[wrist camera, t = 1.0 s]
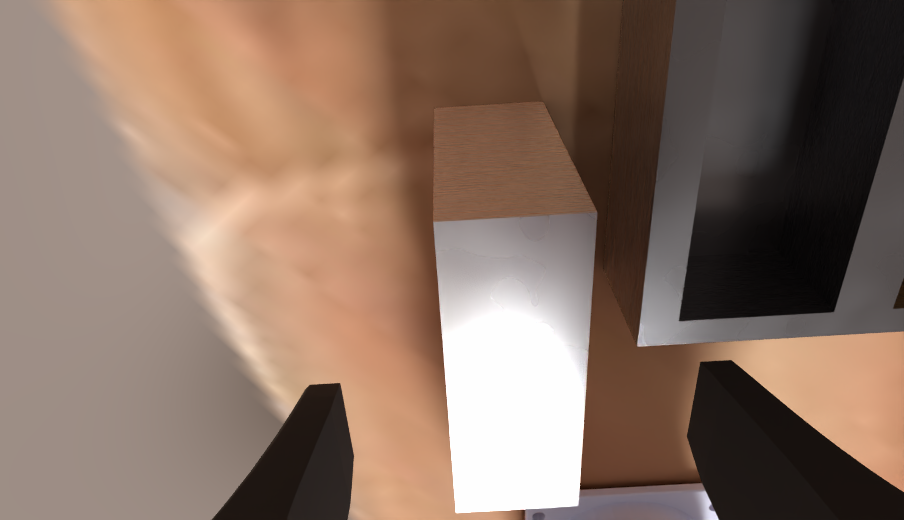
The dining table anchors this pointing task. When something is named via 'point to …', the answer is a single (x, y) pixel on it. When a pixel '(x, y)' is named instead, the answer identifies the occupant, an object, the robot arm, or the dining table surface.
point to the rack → (758, 170)
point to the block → (512, 304)
